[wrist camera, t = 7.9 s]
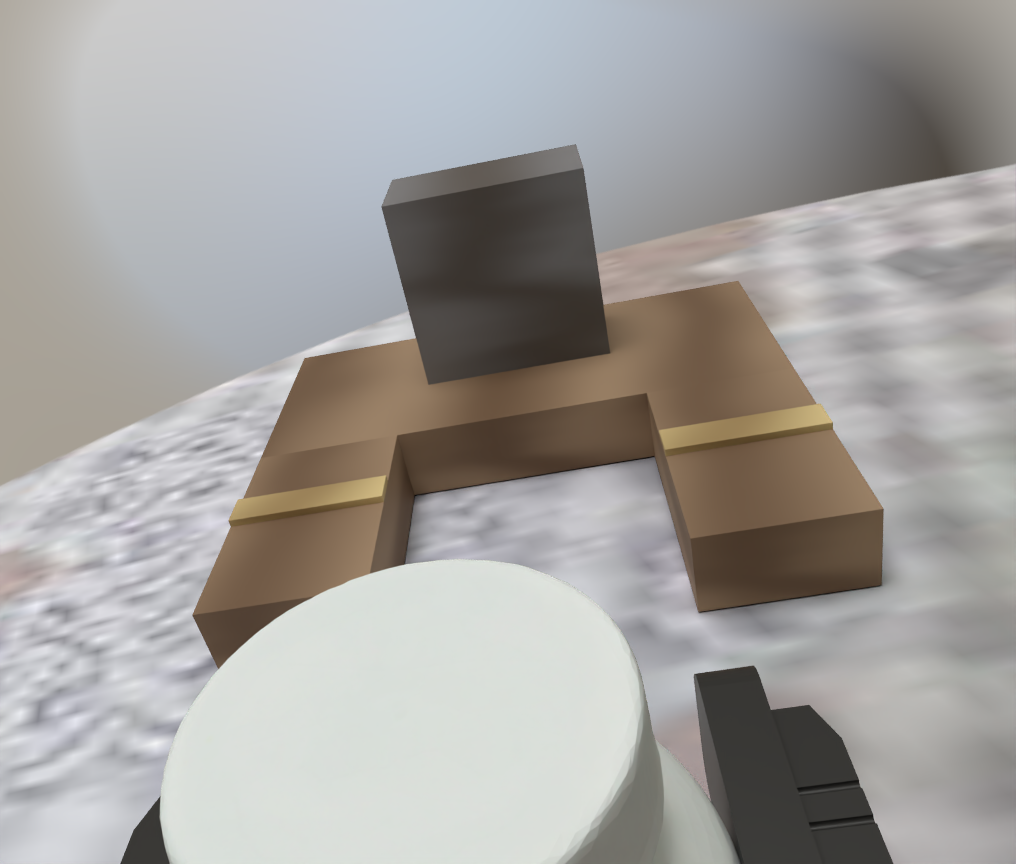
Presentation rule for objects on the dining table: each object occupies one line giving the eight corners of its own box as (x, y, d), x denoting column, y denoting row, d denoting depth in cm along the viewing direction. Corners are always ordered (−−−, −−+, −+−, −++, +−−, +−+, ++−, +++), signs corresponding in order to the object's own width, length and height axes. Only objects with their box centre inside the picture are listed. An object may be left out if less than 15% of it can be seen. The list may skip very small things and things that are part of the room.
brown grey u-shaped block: (741, 336, 33) (726, 107, 29) (881, 585, 21) (890, 250, 17) (321, 409, 34) (251, 200, 30) (224, 680, 22) (85, 394, 18)
